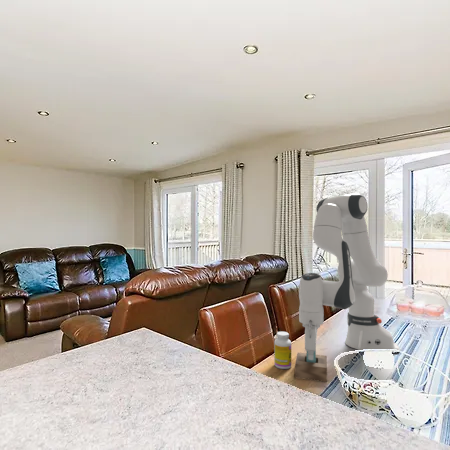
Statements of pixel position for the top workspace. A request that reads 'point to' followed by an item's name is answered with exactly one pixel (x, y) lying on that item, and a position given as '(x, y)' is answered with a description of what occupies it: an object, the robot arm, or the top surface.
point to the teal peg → (313, 357)
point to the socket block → (311, 368)
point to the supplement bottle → (282, 351)
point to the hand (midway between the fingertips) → (311, 354)
